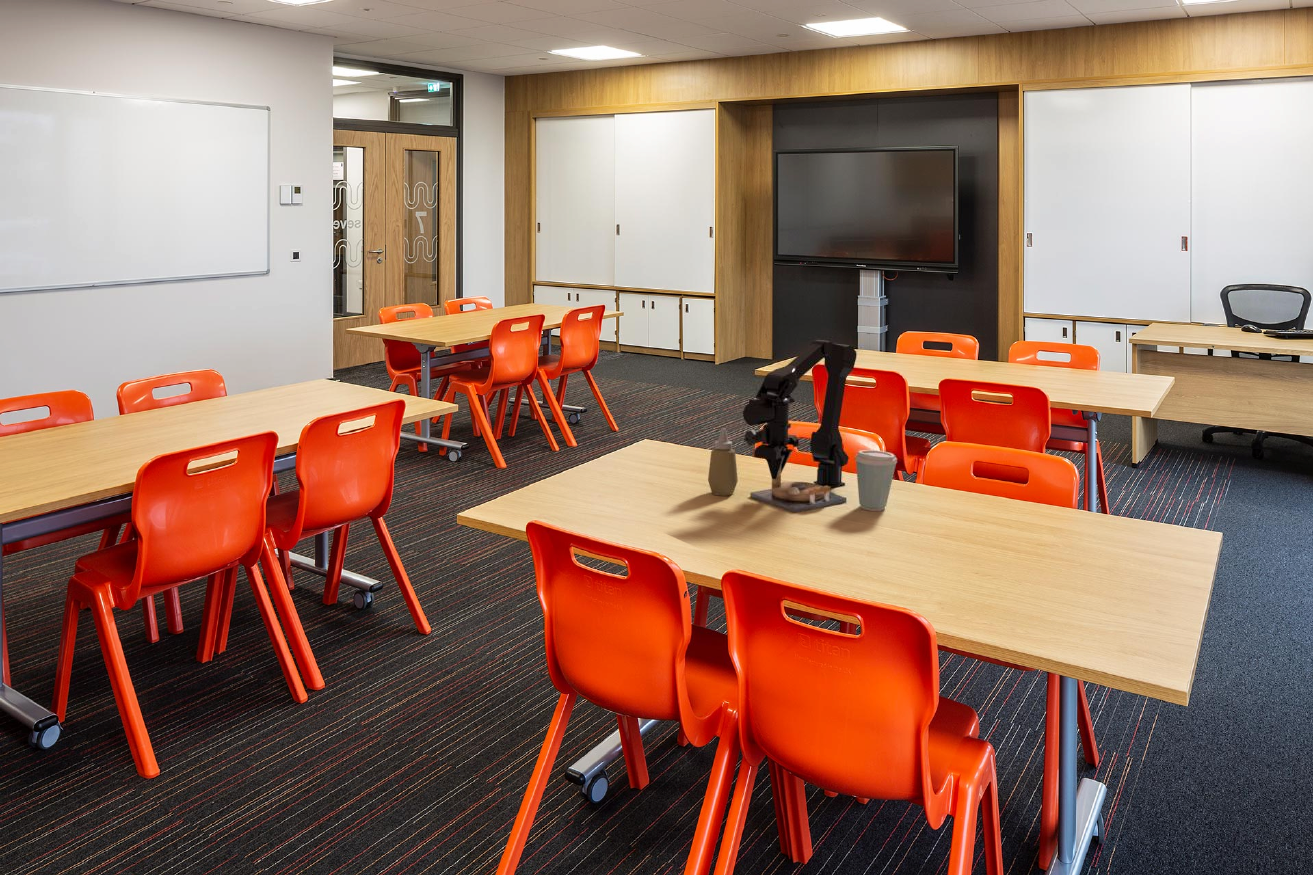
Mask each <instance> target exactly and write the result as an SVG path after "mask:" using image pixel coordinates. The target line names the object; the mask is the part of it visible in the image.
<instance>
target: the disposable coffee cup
mask: <svg viewBox="0 0 1313 875" xmlns="http://www.w3.org/2000/svg"><path fill="white" fill-rule="evenodd" d="M854 460H855V465H856V466H855V467H856V468H855V469H856V477H857V490H858V504H859V506H860V508H861V509H862V510H865V511H872V512H880V511H884V510H885V508H886V507H887V503H888V499H889V495H890V491H891V485H892V482H893V478H894V473H895V469H896V465H897V463H898V458H897V457H896V454H895V455H894V453H892V452H888V451H883V450H876V449H875V450H874V449H862V450H861V449H860V450H858V451H857V454H855V457H854Z"/></svg>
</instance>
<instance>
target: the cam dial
mask: <svg viewBox="0 0 1313 875" xmlns="http://www.w3.org/2000/svg"><path fill="white" fill-rule="evenodd" d="M818 487H823V486H821V485H818V484H815V483H814V482H805V481H784V482H782V473H781V467H780V470H779V473H778V475H777V478H776V479H772V478H771V489H772V495H773V496H775V497H777V498H780V499H784V500H790V501H809V495H810V493H808V491H809V489H812V488H818ZM823 497H824V492H821V493H815V500H818V499H821V498H823Z"/></svg>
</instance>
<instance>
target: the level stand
mask: <svg viewBox="0 0 1313 875" xmlns="http://www.w3.org/2000/svg"><path fill="white" fill-rule="evenodd" d="M831 488H832V487H829V486H822V487H818V488H812V489H809V491H808V493H810V495H809V501H790V500H784V499H780V498H777V497H775V496H773V495H772V488H768V489H763V490H758V491H753V492H750V494H749V496H750V498H751V499H756V500H758V501H760V502H763V503H766V504H770V505H773V506H775V507H777V508H780V509H783V510H786V511H789V512H792V513H799V512H800V513H801V512H805V511H810V510H815V509H820V508H824V507H829V506H833V505H834V506H835V505H839V504H844V503H847V497H846V496H842V495H840V494H839V495H838V494H836V493H833V492H830V491H831ZM821 492H824V497H823V498H821V499H818V500H815V493H821Z"/></svg>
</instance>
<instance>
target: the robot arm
mask: <svg viewBox="0 0 1313 875" xmlns="http://www.w3.org/2000/svg"><path fill="white" fill-rule="evenodd" d="M857 355H858V354H857V350H855V347H854V346H853V345H849V344H848V345H847V344H839V343H833V342H830V341H829V340H824V339H823V340H822V339H815V340H813V341H811V344H810V345H809V346H808V347H806V348H805V349H804V350H802V352H801V353H799V355H797V356H796V357H795V358H794V359H792V361H790V362H789V363H788V364H787V365H785V366H783V367H778V368H776V369H774V370H772V371H770V372H769V373H767V374H766V375H765V377H764V379H763V382H762V383H761V386H760V387H759V390H757V393H756V395H755V398H750V399H748V404H746V405H745V406H744V408H743V411H742V416H743V419H744V421H745V423H746V424H747V425H748V426H758V425H762V424H764V425H763V426H762V428H759V429H757V430H755V429H751V430H750V429H749V430H746V431H745V434H744V435H743V437H744V439H743V441H744V442H746V443H747V446H748V447H750V446H753V445H755V444H759V443H761V444H760V445H758V446H757V447H755V448H754V450H753V457H754V458H757V459H764V460H765V461H766V462H767V465H768V469H769V473H770V477H771V480H772V479H776V478H777V475H778V473H779V470H780V467H781V474H782V472H783V470H784V469H785V467H786V465H787V462H788V460H789V459H790V456H791V454H792V453H793V449H789V447H788V446H790V445H792V447H793V448H796V447H799V442H800V441H799V440H800V439H799V437H798V436H797V435H795V434H789V429H790V428H791V426H792V423H789V418H790V417H789V414H790V404H793V403H795V402H796V400H795V399H794V398H793V397H792V396H791V394H792V393H793V392H794V391H795V389H796V388H797V387H798V385H799V380H800V379H801V378H802V377H803V376H804V375H805V374H807V373H808V372H809V371H810V370H811V369H812V368H814V367H815V366H816V365H817V364H818V363H820V362H821V361H822V360H823V359H824V363H823V364H824V368H825V370H826V373H827V382H826V389H825V396H824V401H823V406H822V414H821V419H820V426H819V428H817V430H816V431H812V433H811V436H810V443H809V446H810V453H811V456H812V460H813V462H816V463H818V464H817V466H818V467H817V469H816V472H817V473H816V480H815V481H813V483H814V484H817V485H820V486H822V487H823V486H829V487H831V488H835V487H841V486H845V485H846V482H844V481H842V478H843V474H842V473H843V472H842V471H843V467H845V466H847V465H848V462H849V458H850V457H849V455H848V454H847V453H846V451H845V450H844V449H843V438H842V435H841V432H840V429H839V427H840V421H841V415H842V407H843V400H844V396H845V390H846V389H845V387H846V381H847V377H849V375H850V374H851V372H852V371H853V370H854V367H855V364H856V361H857Z"/></svg>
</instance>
